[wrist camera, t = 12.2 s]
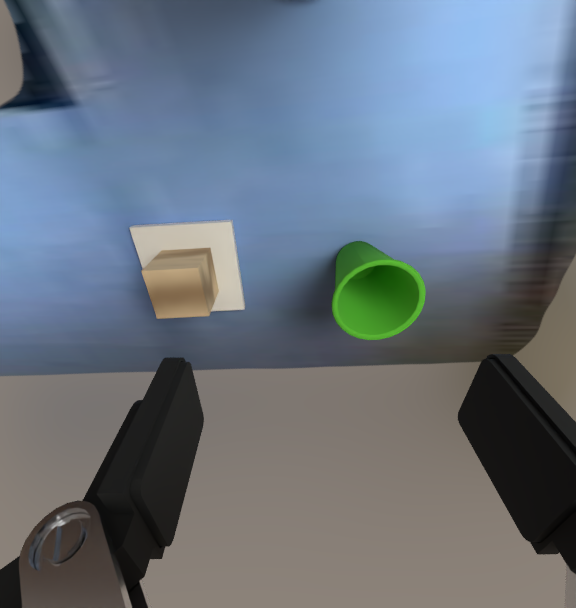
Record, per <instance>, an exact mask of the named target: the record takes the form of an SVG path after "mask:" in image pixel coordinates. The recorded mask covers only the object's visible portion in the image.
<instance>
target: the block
mask: <svg viewBox="0 0 576 608" xmlns="http://www.w3.org/2000/svg"><path fill="white" fill-rule="evenodd" d="M141 272H142V275H143V278H144V281H145V284H146V287H147V290H148V293H149V296H150V299H151V301H152V304H153V307H154V310H155V313H156V316H157V319H161V318H180V317H199V316H209V315H210V312H211V310H212V307H213V305H214V302H215V300H216V297H217V295H218V292H219V289H218V284H217V279H216V274H215V269H214V264H213V259H212V253H211V248H195V249H178V250H161V251H160V252H159V254H158V255H157V256H156V257H155V258H154V259H153V260H152V261H151V262H150V263H149V264H148V265H147V266H146V267H145V268H144V269H143V270H142V271H141Z"/></svg>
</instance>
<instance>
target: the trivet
mask: <svg viewBox="0 0 576 608" xmlns="http://www.w3.org/2000/svg"><path fill="white" fill-rule="evenodd" d="M130 231H131V234H132V238H133V241H134V244H135V247H136V250H137V253H138V256H139V259H140V262H141V265H142V268H143V269H144V268H145V267H146V266H147V265H148V264H149V263H150V262H151V261H152V260H153V259H154V258H155V257H156V256H157V255H158V254H159V252H160V251H161V250H178V249H195V248H211V253H212V259H213V264H214V269H215V274H216V279H217V284H218V289H219V292H218V295H217V297H216V300H215V302H214V305H213V307H212V310H211V311H226V310H244V309H245V300H244V294H243V287H242V280H241V273H240V267H239V260H238V253H237V246H236V240H235V233H234V226H233V220H217V221H200V222H182V223H164V224H147V225H133V226H131V227H130Z"/></svg>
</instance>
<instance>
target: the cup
mask: <svg viewBox="0 0 576 608" xmlns="http://www.w3.org/2000/svg"><path fill="white" fill-rule="evenodd" d="M424 302H425V286H424V281H423V280H422V278H421V276H420V274H419V273H418V272H417V271H416V270H415V269H414V268H413V267H412V266H410V265H408V264H406V263H404V262H402V261H397V260H394V259H392V258H391V257H389V256H388V255H386V254H384V253H383V252H381V251H380V250H378V249H377V248H375V247H373V246H372V245H370V244H368V243H366V242H362V241H356V242H352V243H349V244H347V245H346V246H344V247H343V248H342V249H341V250H340V252H339V253H338V255H337V258H336V275H335V292H334V294H333V298H332V314H333V316H334V318H335V321H336V322H337V324H338V325H339V326H340V327H341V329H343V330H344V331H345V332H347V333H348V334H350V335H352V336H354V337H357V338H360V339H366V340H379V339H384V338H388V337H391V336H393V335H396V334H398V333H400V332H401V331H403V330H404V329H406V328H407V327H409V326H410V325H411V324H412V323H413V322H414V321H415V320H416V318H417V317H418V315H419V314H420V312H421V310H422V307H423V305H424Z"/></svg>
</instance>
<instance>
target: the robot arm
mask: <svg viewBox="0 0 576 608" xmlns="http://www.w3.org/2000/svg"><path fill="white" fill-rule="evenodd" d="M458 421H459V423H460V426H461V427H462V429H463V431H464V433H465V435H466V436H467V438H468V440H469V442H470V443H471V445H472V447H473V449H474V451H475V452H476V454H477V456H478V458H479V459H480V461H481V463H482V465H483V467H484V468H485V470H486V472H487V474H488V476H489V477H490V479H491V481H492V483H493V485H494V486H495V488H496V490H497V492H498V494H499V495H500V497H501V499H502V501H503V503H504V504H505V506H506V508H507V510H508V511H509V513H510V515H511V517H512V519H513V520H514V522H515V524H516V526H517V528H518V529H519V531H520V533H521V534H522V536H523V537H524V538H525V539H526V540H528V541H529V542H531V544H532V546H533V548H534V550H535V551H536V553H537V554H558V553H559V552H560V554H561V555H562V557H563V559H564V560H565V562H566V564H567V567H566V590H565V608H576V422H575V421H574V420H573V419H572V418H571V417H570V416H569V415H568V413H567V412H566V411H565V410H564V409H563V408H562V407H561V406H560V405H559V404H558V403H557V402H556V401H555V400H554V398H552V396H551V395H550V394H549V393H548V392H547V391H546V390H545V389H544V388H543V387H542V386H541V385H540V384H539V382H537V380H536V379H535V378H534V377H533V376H532V375H531V374H530V373H529V372H528V371H527V370H526V369H525V367H524V366H523V365H521V363H520V362H519V361H518V360H517V359H516V358H515V357H514V356H513V355H510V354H491V355H488V356H487V358H486V359H484V360H482V362H481V364H480V366H479V368H478V371H477V373H476V375H475V377H474V379H473V382H472V384H471V386H470V388H469V390H468V392H467V395H466V397H465V399H464V401H463V403H462V406H461V408H460V410H459V412H458ZM203 422H204V417H203V412H202V408H201V404H200V400H199V395H198V391H197V387H196V383H195V379H194V375H193V371H192V367H191V363H190V362H185V359H184V358H164V359H163V360H162V362H161V364H160V366H159V368H158V370H157V372H156V374H155V376H154V378H153V380H152V382H151V384H150V386H149V388H148V390H147V393H146V395H145V397H144V399H143V400H138V401H136V402H135V403H134V404H133V406H132V407H131V409H130V411H129V413H128V415H127V417H126V419H125V420H124V422H123V424H122V426H121V428H120V430H119V432H118V434H117V436H116V438H115V440H114V441H113V443H112V445H111V447H110V449H109V451H108V453H107V455H106V457H105V459H104V461H103V463H102V464H101V466H100V468H99V470H98V472H97V474H96V476H95V478H94V480H93V482H92V484H91V486H90V488H89V489H88V491H87V493H86V495H85V497H84V499H83V501H74V502H70V503H66V504H64V505H62V506H60V507H58V508H56V509H55V510H53V511H52V512H51V513H49V514H48V515H47V516H45V517H44V518H43V519H42V520H41V521H40V522H39V523H38V524H37V525H36V526H35V527H34V529H33V530H32V531H31V533H30V534H29V536H28V537H27V539H26V540H25V543H24V545H23V547H22V550H21V553H20V556H19V557H17V558H16V559H15V560H13V561H12V562H11V563H9V564H8V565H6V566H5V567H4V568H2V569H1V570H0V608H152V607H151V604H150V601H149V598H148V595H147V592H146V589H145V586H144V584H143V581H142V578H143V577H144V576H145V573H146V570H147V567H148V563H149V560H150V559H162V557H163V553H164V549H165V546H170V545H171V543H172V541H173V539H174V535H175V531H176V528H177V524H178V520H179V515H180V512H181V508H182V504H183V501H184V497H185V493H186V489H187V486H188V482H189V478H190V474H191V470H192V466H193V462H194V459H195V455H196V451H197V447H198V443H199V440H200V436H201V432H202V428H203Z"/></svg>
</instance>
